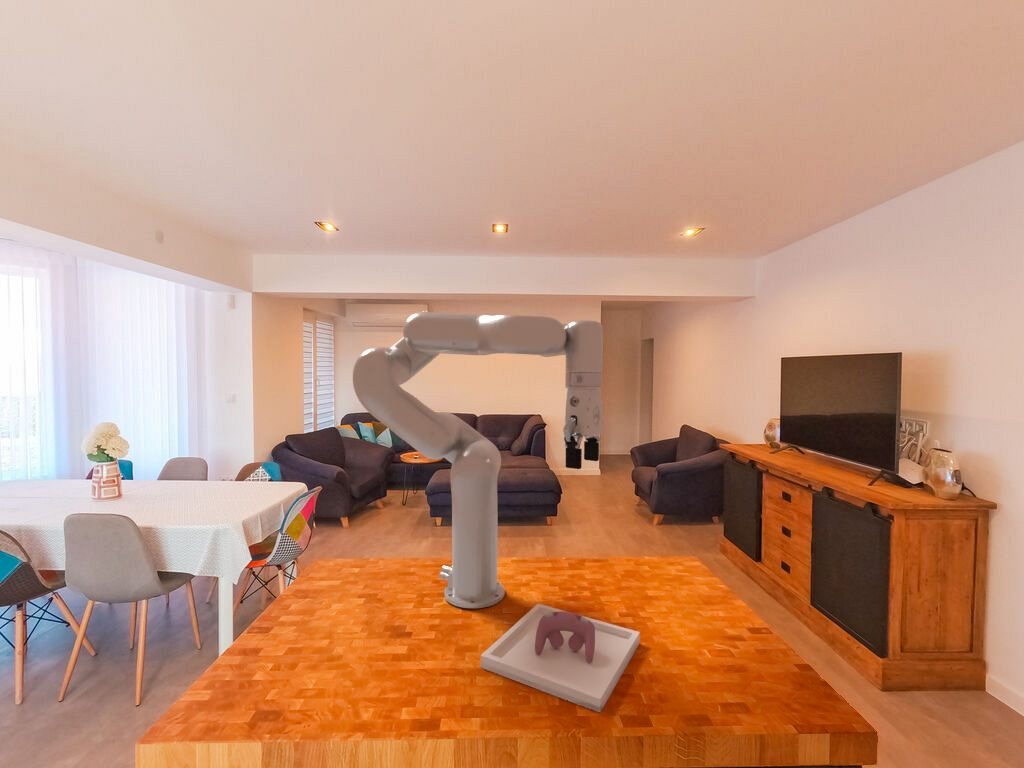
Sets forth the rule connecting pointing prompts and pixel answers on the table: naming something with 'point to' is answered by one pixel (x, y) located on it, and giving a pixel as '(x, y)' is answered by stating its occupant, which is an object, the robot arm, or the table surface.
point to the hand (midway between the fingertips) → (582, 464)
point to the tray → (563, 660)
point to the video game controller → (566, 622)
